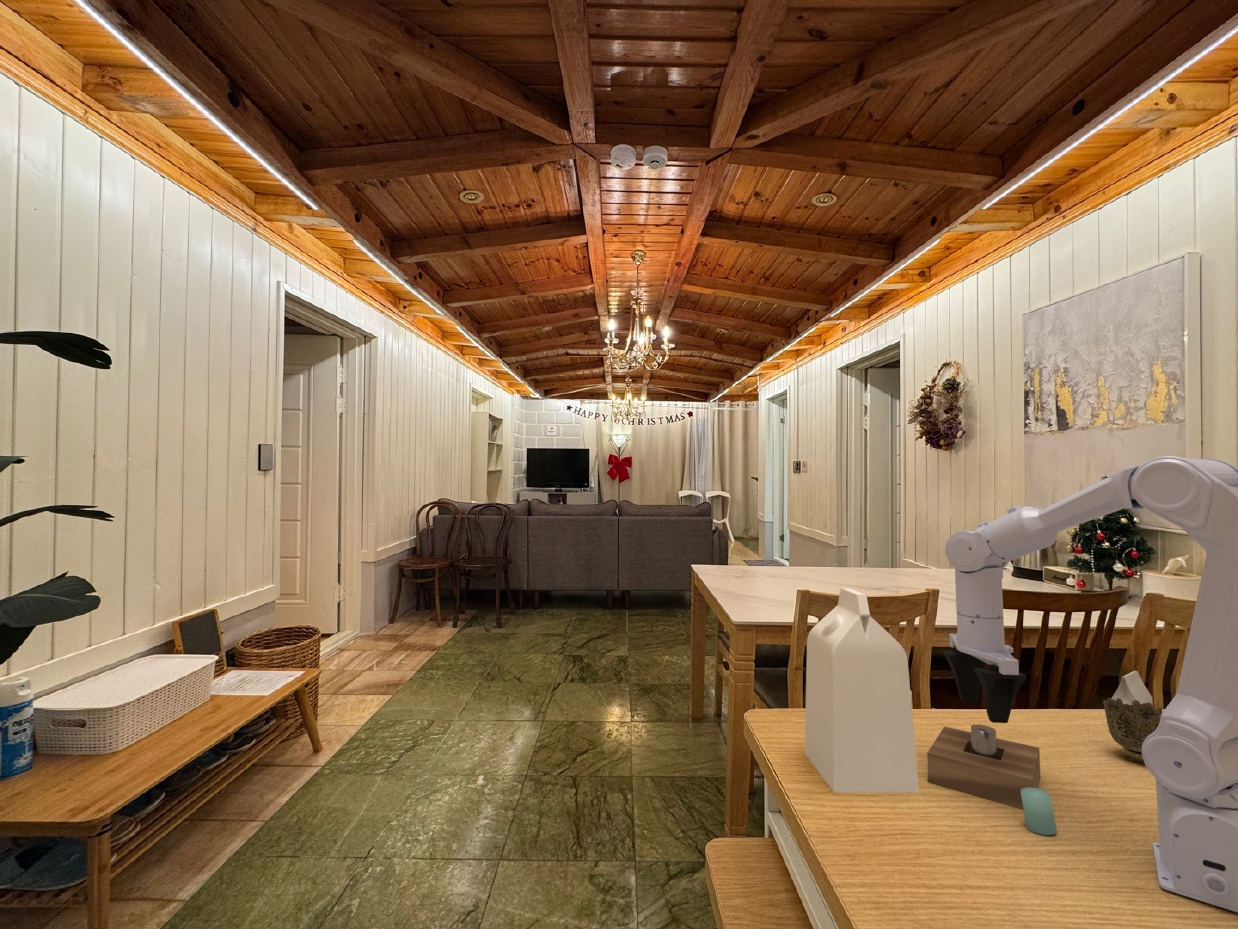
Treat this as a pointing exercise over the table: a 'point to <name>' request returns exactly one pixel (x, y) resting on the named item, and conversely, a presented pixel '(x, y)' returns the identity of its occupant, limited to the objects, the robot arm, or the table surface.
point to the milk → (859, 703)
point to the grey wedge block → (1132, 690)
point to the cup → (1131, 725)
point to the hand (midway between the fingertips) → (983, 711)
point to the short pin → (1038, 811)
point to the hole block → (983, 767)
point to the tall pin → (984, 741)
